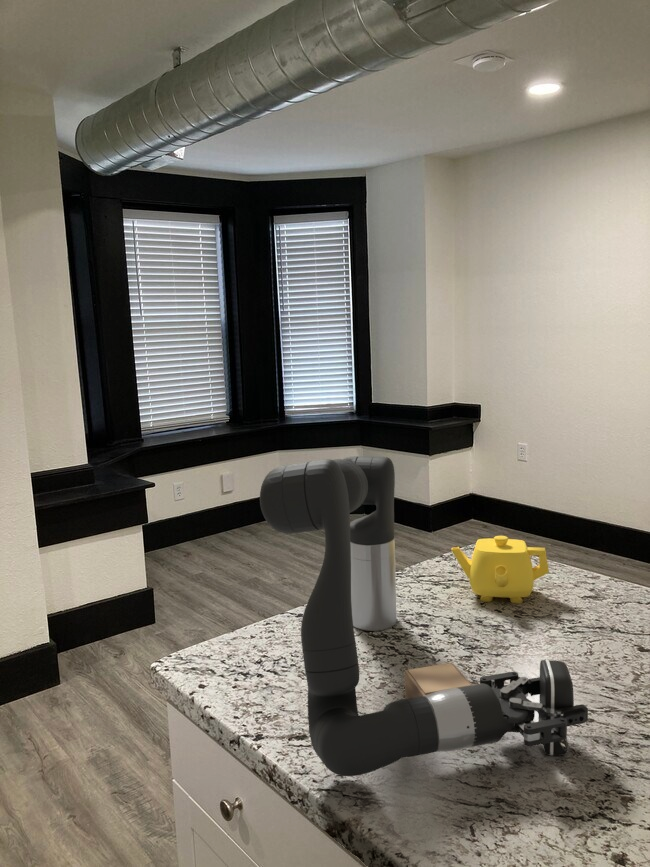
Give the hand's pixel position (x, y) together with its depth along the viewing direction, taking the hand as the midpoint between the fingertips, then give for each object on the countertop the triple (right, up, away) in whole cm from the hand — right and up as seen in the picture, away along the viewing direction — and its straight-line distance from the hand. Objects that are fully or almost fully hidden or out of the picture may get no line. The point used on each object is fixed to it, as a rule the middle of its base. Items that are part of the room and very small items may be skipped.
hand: (569, 697), depth 98 cm
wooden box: (-16, -6, +10) cm, 20 cm away
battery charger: (-2, -7, +1) cm, 7 cm away
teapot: (+3, +2, +52) cm, 52 cm away
